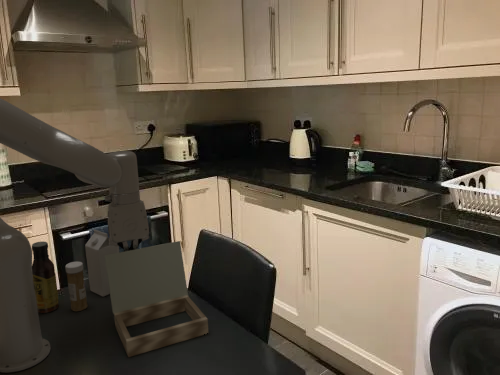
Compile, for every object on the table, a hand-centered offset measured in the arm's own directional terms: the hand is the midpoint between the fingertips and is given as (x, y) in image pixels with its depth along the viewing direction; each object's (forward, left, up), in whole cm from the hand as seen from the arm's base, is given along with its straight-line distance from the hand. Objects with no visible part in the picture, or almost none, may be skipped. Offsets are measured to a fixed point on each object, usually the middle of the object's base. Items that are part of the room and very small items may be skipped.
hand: (131, 262), depth 121 cm
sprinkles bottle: (-14, +9, -14) cm, 22 cm away
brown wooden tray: (+3, -15, -14) cm, 21 cm away
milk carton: (-5, +17, -14) cm, 23 cm away
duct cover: (+3, -5, -3) cm, 7 cm away
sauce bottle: (-22, +13, -14) cm, 29 cm away
